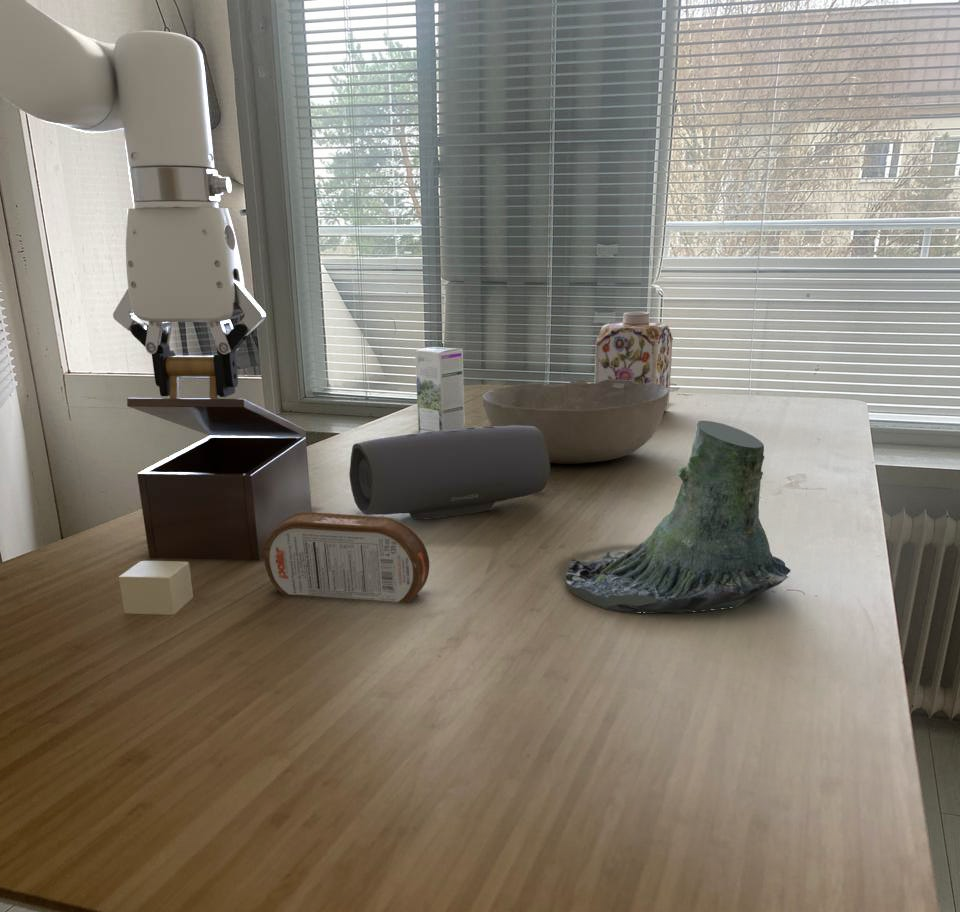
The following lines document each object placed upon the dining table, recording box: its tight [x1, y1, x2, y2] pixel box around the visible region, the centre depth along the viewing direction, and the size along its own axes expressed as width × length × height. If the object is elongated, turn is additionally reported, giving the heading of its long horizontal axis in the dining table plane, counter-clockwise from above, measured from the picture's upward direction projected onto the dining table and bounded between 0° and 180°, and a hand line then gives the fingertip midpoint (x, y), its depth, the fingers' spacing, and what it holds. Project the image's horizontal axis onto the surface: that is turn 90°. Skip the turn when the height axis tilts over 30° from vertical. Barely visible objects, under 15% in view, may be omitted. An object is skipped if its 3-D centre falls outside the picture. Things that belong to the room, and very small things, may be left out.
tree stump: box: [565, 420, 792, 614], centre depth 90 cm, size 18×20×18 cm
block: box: [118, 560, 194, 616], centre depth 86 cm, size 4×4×4 cm
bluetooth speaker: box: [348, 425, 551, 520], centre depth 117 cm, size 23×9×10 cm, turn 115°
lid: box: [126, 355, 307, 437], centre depth 103 cm, size 20×12×5 cm, turn 174°
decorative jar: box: [593, 311, 674, 412], centre depth 179 cm, size 12×12×18 cm
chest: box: [136, 435, 313, 561], centre depth 106 cm, size 20×12×10 cm, turn 174°
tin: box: [263, 511, 430, 604], centre depth 87 cm, size 15×3×8 cm, turn 77°
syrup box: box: [414, 346, 466, 433], centre depth 159 cm, size 6×6×14 cm
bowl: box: [481, 379, 670, 465], centre depth 146 cm, size 28×28×10 cm
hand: (198, 392), depth 96 cm, fingers closed on lid, 5 cm apart
